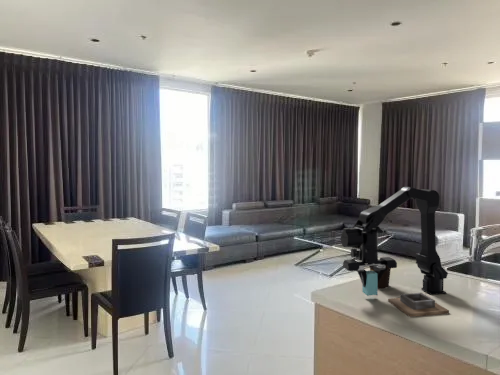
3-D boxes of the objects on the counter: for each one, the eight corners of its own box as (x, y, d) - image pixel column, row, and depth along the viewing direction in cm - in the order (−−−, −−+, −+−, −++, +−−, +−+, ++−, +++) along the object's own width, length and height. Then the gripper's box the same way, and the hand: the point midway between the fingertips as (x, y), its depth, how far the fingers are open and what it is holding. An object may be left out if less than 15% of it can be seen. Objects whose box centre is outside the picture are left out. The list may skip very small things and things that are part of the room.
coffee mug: (393, 289, 149) (393, 265, 148) (370, 288, 150) (370, 264, 150) (388, 280, 160) (388, 257, 159) (367, 279, 162) (367, 257, 161)
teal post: (372, 291, 142) (372, 270, 142) (377, 294, 138) (377, 273, 138) (362, 292, 141) (362, 271, 141) (367, 295, 138) (367, 274, 137)
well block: (423, 298, 139) (423, 289, 138) (448, 313, 125) (449, 303, 125) (388, 301, 137) (388, 292, 136) (409, 316, 123) (409, 306, 123)
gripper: (382, 239, 148) (382, 278, 149) (337, 242, 145) (337, 281, 146) (397, 245, 137) (397, 287, 138) (348, 248, 134) (349, 291, 135)
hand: (369, 286), depth 140 cm, fingers closed on teal post, 4 cm apart
